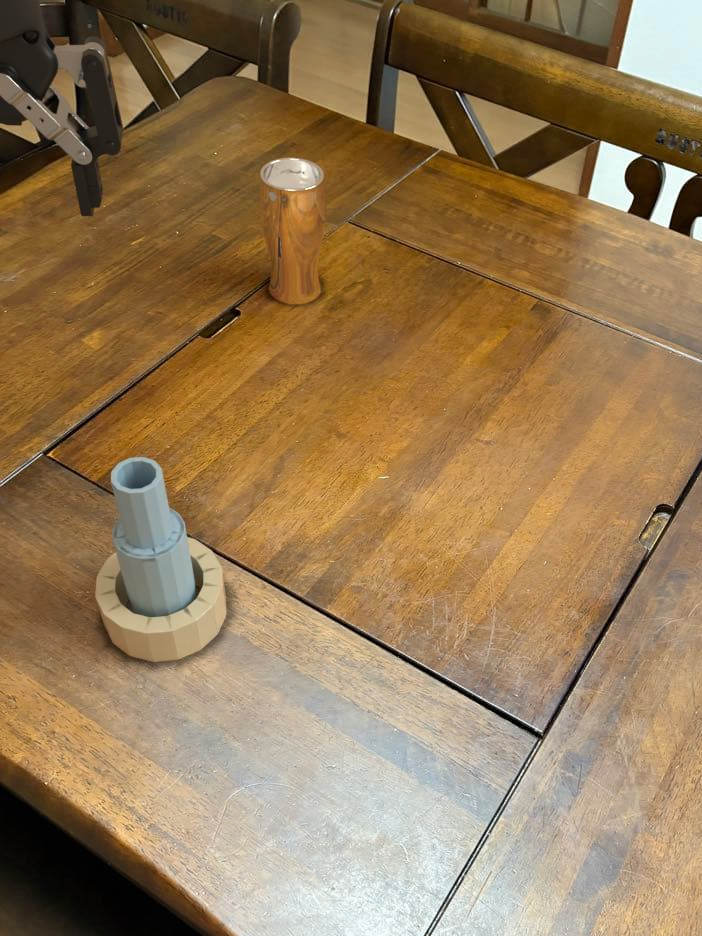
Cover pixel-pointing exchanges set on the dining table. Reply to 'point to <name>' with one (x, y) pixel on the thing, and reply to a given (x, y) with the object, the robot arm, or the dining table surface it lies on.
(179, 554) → the bottle
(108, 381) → the dining table surface
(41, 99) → the robot arm
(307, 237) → the beer glass
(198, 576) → the ring
